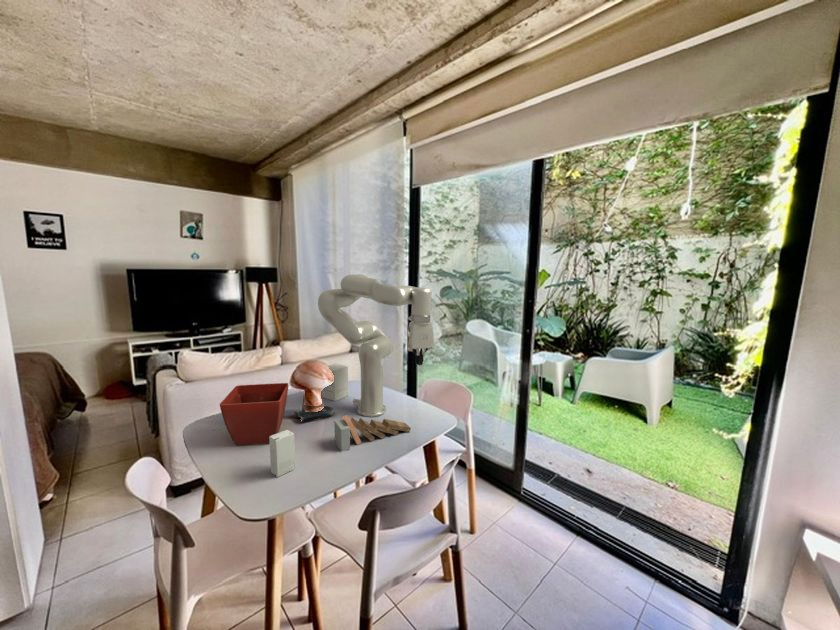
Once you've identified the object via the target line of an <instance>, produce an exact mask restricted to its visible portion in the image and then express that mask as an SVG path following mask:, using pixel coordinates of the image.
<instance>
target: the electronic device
mask: <svg viewBox="0 0 840 630" xmlns="http://www.w3.org/2000/svg"><path fill="white" fill-rule="evenodd" d="M334 414H335V410H334V409H333V407H332V406H326V405H324V408H323V409H322V410H321V411H318V412H311V413H310V412H305V411H304V410H301V411H295V410H294V417H295V418H298V417H299V418H301V420H302V422H301V420H300V421H299V422H301V424H304V423H310V422H312V421H316V420H323V419H329V418H330V417H333V415H334Z"/></svg>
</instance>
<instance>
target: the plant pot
mask: <svg viewBox="0 0 840 630" xmlns="http://www.w3.org/2000/svg"><path fill="white" fill-rule="evenodd" d="M288 392H289V383H288V382H281V383H280V382H279V383H276V382H275V383H257V384H241V385H240V384H239V385H235V386H234V387H233V389H231V391H230V392H229V393H228V394H227V395H226V396H225V398H224V399H223V400H221V402H220V403H219V407H220V408H219V409H220V412H221V415H222V418H223V419H222V420H223V422H224V425H225V427H226V430H227V432H228V434H229V436H230V439H232V441H233V443H234V445H235V446H236V445H237V446H236V447H238V446H249V445H261V444H263V445H264V443H265V444H270V442H269V436H272V435H274V434H277V433H279V431H280V428H281V426H282V422H283V419H284V415H285V410H286V404H287V399H288Z"/></svg>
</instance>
